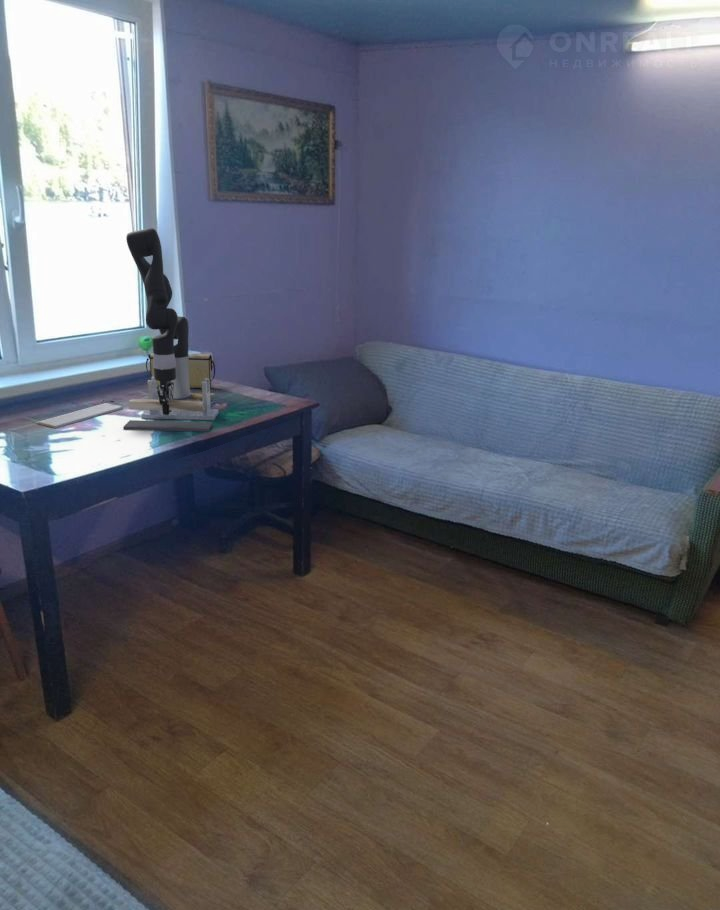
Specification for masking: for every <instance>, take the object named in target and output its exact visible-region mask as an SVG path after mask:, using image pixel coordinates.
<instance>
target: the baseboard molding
mask: <svg viewBox="0 0 720 910" xmlns="http://www.w3.org/2000/svg"><path fill="white" fill-rule="evenodd" d="M102 402H103V403H101V404H97V405H93V406H90V407H87V408H86V407H85V408H83V409H79V410H75V411H72V412H68V413H66V414H65V413H64V414H61V415H58V416H54V417H51V418H46V419H43V420H39V421H36V422H35V424H37V425H41V426H44V427H45V426H46V427H48V428H51V429H52V428H53V429H57V428H61V427H64V426H69V425H71V424H75V423H79V422H82V421H85V420H89V419H92V418H96V417H99V416H103V415H105V414H110V413H112V412H116V411H119V410H123V407H124V406H123V405H119V404H118V403H116V402H115V401H113V400H110V401H108V400H107V401H106V402H105V400H104V399H103V401H102ZM107 402H109V403H107ZM114 403H115V404H114Z"/></svg>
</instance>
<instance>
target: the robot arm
mask: <svg viewBox="0 0 720 910" xmlns="http://www.w3.org/2000/svg"><path fill="white" fill-rule="evenodd" d="M125 237H126V240H125V241H126V243H127V247H128V250H129V252H130V255H131V256H132V259H133V261H134V263H135V265H136V267H137V270H138V272H139V274H140V277H141V280H142V283H143V287H144V292H145V297H146V302H147V305H146V306H147V307H146V313H145V325H147V327H148V328H149V329H150V330H154V331H155V330H159V332H160V334H159V335H156V336H154V337H153V338H152V352H153V353H152V354H153V366H154V379H155V380H157V381H160V385H159V387H158V389H157V391H158V400H159V402H160V404H161V405H162V409H163V415H169V412H171V411H169V400H176V399H178V400H179V399H181V400H183V399H187V398H190V397H191V388H190V376H189V357H188V354H189V323H188V322H189V321H188V319H187V318H186V316H178V313H177V311H176V310H175V309H174V308H169V307H168V306H169V304H170V303H171V300H172V297H173V290H172V287H171V284H170V281H169V278H168V277H167V275H165V274H164V263H163V261H164V260H163V251H162V250H163V249H162V245H161V244H162V243H161V239H160V237H159V234H158V232H157V229H155V228H153V227H151V228H144V229H140V230H135V231H130V232H128V233H127V234H126V236H125ZM146 257H152V261H151V263H150V262H149V261H148V260H147V259H146ZM175 340H177V344H175ZM174 344H175V345H174ZM163 400H165V401H163Z"/></svg>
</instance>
